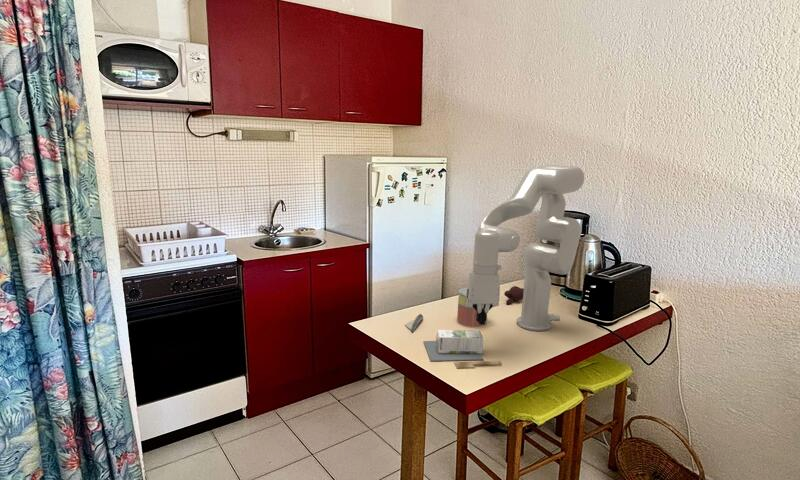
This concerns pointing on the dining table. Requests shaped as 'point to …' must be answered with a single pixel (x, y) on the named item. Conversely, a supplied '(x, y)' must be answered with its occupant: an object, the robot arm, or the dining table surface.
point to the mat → (448, 354)
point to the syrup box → (459, 341)
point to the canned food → (467, 312)
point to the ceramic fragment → (414, 323)
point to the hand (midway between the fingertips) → (481, 323)
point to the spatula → (476, 364)
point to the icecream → (514, 294)
